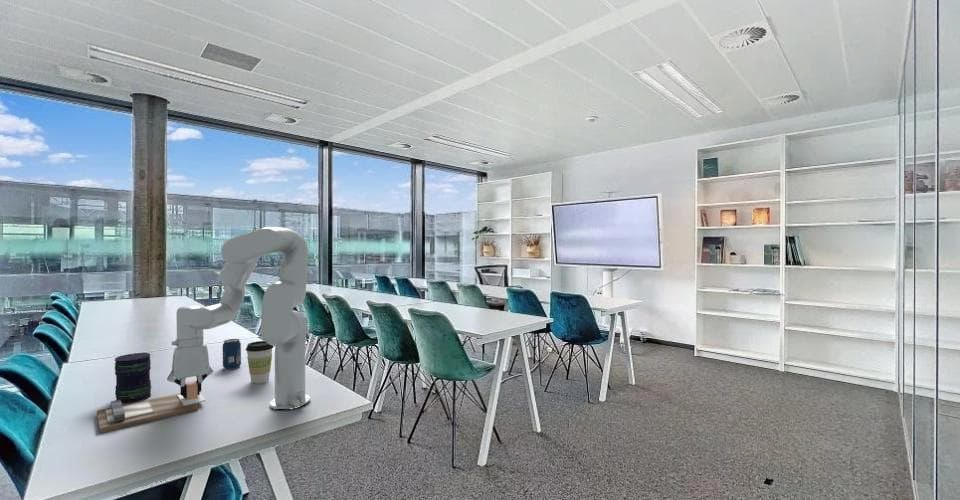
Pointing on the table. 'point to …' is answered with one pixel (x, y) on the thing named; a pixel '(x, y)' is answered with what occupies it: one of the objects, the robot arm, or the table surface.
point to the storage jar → (133, 377)
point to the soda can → (231, 354)
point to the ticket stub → (191, 394)
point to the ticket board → (141, 412)
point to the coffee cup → (259, 361)
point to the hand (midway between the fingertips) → (191, 395)
